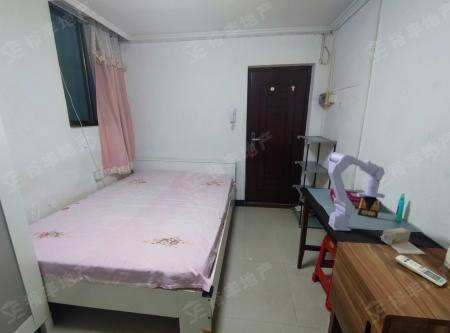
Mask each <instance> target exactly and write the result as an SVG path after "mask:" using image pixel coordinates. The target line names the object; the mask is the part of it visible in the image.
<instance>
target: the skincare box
mask: <svg viewBox="0 0 450 333" xmlns="http://www.w3.org/2000/svg"><path fill="white" fill-rule="evenodd" d="M411 235H412V234H411V231H409V230H407V229H406V228H404V227H399V228H389V229H388V228H387V229H383V231H382V235H381V236H382V238H381V237H380V238H381V240H380V241H382V242H384V243H385V244H387V245H388V246H390V245H391V244H399V243H407V242H409V239H410V237H411Z"/></svg>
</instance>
